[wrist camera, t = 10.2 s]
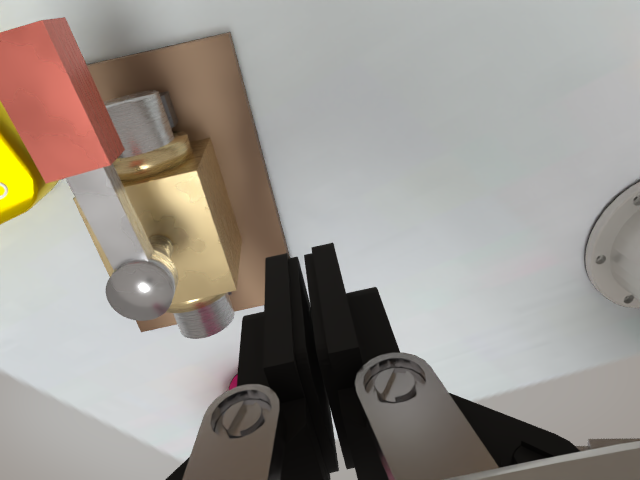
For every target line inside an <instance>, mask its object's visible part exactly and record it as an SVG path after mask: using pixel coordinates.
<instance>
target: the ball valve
mask: <svg viewBox="0 0 640 480" xmlns="http://www.w3.org/2000/svg"><path fill="white" fill-rule="evenodd" d="M104 105H105V107H106V109H107V111H108V113H109V116H110V118H111V120H112V122H113V124H114V127H115V129H116V131H117V133H118V135H119V138H120V140H121V142H122V144H123V146H124V149H125V150H124V151H123V152H122V154H121V155H120V156H119V157H118V158H117V159H116V160H115V161H114V162H113V165H114V167H115V169H116V171H117V174H118V176H119V178H120V180H121V182H122V184H123V186H124V188H125V191H126V193H127V195H128V197H129V199H130V201H131V203H132V205H133V208H134V210H135V212H136V214H137V216H138V218H139V220H140V222H141V224H142V227H143V229H144V231H145V233H146V235H147V237H148V239H149V241H150V244H151V246H152V248H153V250H155V251H158V252H160V253H162V254H164V255H165V256H167V257H168V258H169V259H170V260H171V261H172V262H173V263H174V265H175V266H176V269H177V271H178V284H177V287H176V290H175V293H174V297H173V300H172V303H171V305H170V307H169V309H168V310H167V311H166V312H168V313H173V315H174V317H175V319H176V322H177V324H178V327H179V329H180V332H181V333H182V335H183V336H185V337H187V338H192V339H199V338H205V337H208V336H211V335H214V334H216V333H218V332H220V331H221V330H223V329H224V328H226V327H227V326H228V325H229V324H230V323H231V321H232V320H233V318H234V309H233V306H232V304H231V301H230V298H229V295H232V291H236V290H237V281H238V272H239V264H240V255H241V246H242V238H241V235H240V232H239V229H238V225H237V222H236V219H235V216H234V213H233V209H232V206H231V203H230V200H229V196H228V193H227V190H226V187H225V184H224V180H223V177H222V174H221V171H220V167H219V164H218V161H217V158H216V155H215V151H214V148H213V145H212V142H211V138H206V139H202V140H197V141H193V142H190V141H189V138H188V135H187V133H186V132H183V131H172V129H171V128H172V127H175V126H176V124H177V123H178V118H177V115H176V112H175V109H174V107H173V104H172V101H171V98H170V95H169V92H168V91H167V92H162V93H159V92H158V91H157V90H152V91H144V92H139V93H134V94H130V95H126V96H122V97H118V98H115V99H111V100H108V101H105V102H104ZM73 199H74V201H75V203H76V206H77V208H78V210H79V212H80V214H81V216H82V218H83V221H84V223H85V225H86V227H87V229H88V231H89V233H90V236H91V238H92V240H93V242H94V244H95V246H96V248H97V251H98V253H99V255H100V257H101V259H102V261H103V263H104V266H105V268H106V270H107V272H108V274H109V276H110V277H111V275H112V273H113V271H114V270H113V268H112V266H111V264H110V262H109V260H108V258H107V257H106V255H105V253H104V251H103V249H102V247H101V245H100V243H99V241H98V239H97V237H96V236H95V234H94V232H93V230H92V228H91V226H90V224H89V222H88V220H87V218H86V217H85V215H84V213H83V211H82V209H81V207H80V205H79V203H78V201H77V199H76V198H75V197H74V198H73Z"/></svg>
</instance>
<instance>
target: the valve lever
mask: <svg viewBox="0 0 640 480" xmlns="http://www.w3.org/2000/svg"><path fill="white" fill-rule="evenodd" d="M0 101H1V103H2V104H3V106H4V108H5V110H6V112H7V114H8V115H9V117H10V119H11V121H12V123H13V124H14V126H15V128H16V130H17V132H18V134H19V135H20V137H21V139H22V141H23V143H24V145H25V146H26V148H27V150H28V152H29V154H30V155H31V157H32V159H33V161H34V163H35V165H36V166H37V168H38V170H39V172H40V174H41V176H42V177H43V179H44V181H45V183H50V182H53V181H57V180H60V179H64V178H65V179H66V180H67V182H68V184H69V186H70V188H71V190H72V192H73V194H74V196H75V198H76V199H77V201H78V203H79V205H80V207H81V209H82V211H83V213H84V215H85V217H86V218H87V220H88V222H89V224H90V226H91V228H92V230H93V232H94V234H95V236H96V237H97V239H98V241H99V243H100V245H101V247H102V249H103V251H104V253H105V255H106V257H107V258H108V260H109V262H110V264H111V266H112V268H113V270H114V271H113V273H112V275H111V277H110V278H109V280H108V282H107V285H106V296H107V300H108V302H109V303H110V305H111V306H112V308H113V309H114V310H115V311H116V312H118V313H119V314H121V315H122V316H124V317H126V318H129V319H133V320H138V321H146V320H152V319H155V318H158V317H160V316H161V315H163V314H164V313H165V312H166V311H167V310H168V309H169V307H170V305H171V303H172V300H173V297H174V293H175V290H176V287H177V284H178V271H177V269H176V266H175V265H174V263H173V262H172V261H171V260H170V259H169V258H168V257H167V256H165V255H164V254H162V253H160V252H158V251H155V250H153V248H152V246H151V244H150V241H149V239H148V237H147V235H146V233H145V231H144V229H143V227H142V224H141V222H140V220H139V218H138V216H137V214H136V212H135V210H134V208H133V205H132V203H131V201H130V199H129V197H128V195H127V193H126V191H125V188H124V186H123V184H122V182H121V180H120V178H119V176H118V174H117V171H116V169H115V167H114V165H113V162H114V161H115V160H116V159H117V158H118V157H119V156H120V155H121V154H122V152H123V151H124V150H125V149H124V146H123V144H122V142H121V140H120V138H119V135H118V133H117V131H116V129H115V127H114V124H113V122H112V120H111V118H110V116H109V113H108V111H107V109H106V107H105V105H104V102H103V100H102V98H101V96H100V94H99V91H98V89H97V87H96V85H95V82H94V80H93V78H92V76H91V74H90V71H89V69H88V67H87V65H86V63H85V60H84V58H83V56H82V54H81V52H80V49H79V47H78V45H77V43H76V41H75V38H74V36H73V34H72V32H71V30H70V27H69V25H68V23H67V21H66V19H65V17H64V18H57V19H49V20H42V21H38V22H35V23H31V24H28V25H25V26H21V27H18V28H14V29H11V30H8V31H4V32H1V33H0Z"/></svg>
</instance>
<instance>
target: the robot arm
mask: <svg viewBox="0 0 640 480" xmlns="http://www.w3.org/2000/svg"><path fill="white" fill-rule="evenodd" d="M304 258H305V266H306V274H307V282H308V290H309V297H310V302H309V298H308V295H307V291H306V287H305V283H304V279H303V275H302V271H301V267H300V263H299V260H298V257H294V258H289V255H288V253H285V254H280V255H276V256H271V257H267V258H266V259H265V304H264V312H260V313H256V314H251V315H247V316H244V317H243V320H242V330H241V342H240V353H239V365H238V376H237V387H235V388H233V389H231V390H229V391H226V392H225V393H223V394H222V395H221V396H219V397H218V398H216V399H215V401H214V402H213V403H212V404H211V405H210V406H209V407H208V409H207V411H206V413H205V415H204V417H203V420H202V423H201V426H200V429H199V432H198V435H197V438H196V441H195V444H194V447H193V450H192V452H191V455H190V457H189V458H188V459H187V460H186V461H185V462H184V463H183V464H182V465H181V466H180V467H178V468H177V469H176V470H175V471H174V472H173V473H172V474H171V475H170V476H169V477H168V478H167V479H166V480H330V473H332V472H336V471H339V468H338V461H337V453H336V447H335V439H334V432H333V425H332V418H331V412H332V416H333V419H334V423H335V427H336V431H337V435H338V438H339V442H340V446H341V450H342V453H343V457H344V461H345V465H346V468H347V469H350V468H355V470H356V473H357V478H358V480H640V439H639V438H637V439H588V446H574V445H573V444H572V443H571V442H570V441H568V440H566V439H564V438H562V437H560V436H558V435H556V434H554V433H551V432H549V431H546V430H543V429H541V428H538V427H536V426H533V425H531V424H528V423H526V422H523V421H520V420H518V419H515V418H513V417H510V416H507V415H505V414H502V413H500V412H497V411H494V410H492V409H489V408H487V407H484V406H482V405H479V404H477V403H474V402H471V401H469V400H466V399H464V398H461V397H459V396H456V395H453V394H451V393H448V391H447V390H446V388H445V387H444V385H443V384H442V382H441V381H440V380H439V378H438V377H437V375H436V374H435V372H434V371H433V369H432V368H431V367H430V365H429V364H428V363H427V362H426V361H425V360H423V359H421V358H419V357H417V356H415V355H412V354H407V353H400V351H399V348H398V345H397V343H396V340H395V337H394V334H393V331H392V329H391V326H390V323H389V320H388V317H387V315H386V312H385V309H384V306H383V303H382V301H381V298H380V295H379V292H378V290H377V288H376V287H373V288H369V289H364V290H360V291H355V292H350V293H346V292H345V288H344V284H343V280H342V276H341V272H340V268H339V264H338V260H337V256H336V252H335V248H334V244H333V243H330V244H325V245H321V246H316V247H312V254H307V255H304ZM585 262H586V270H587V273H588V276H589V279H590V281H591V282H592V284H593V285H594V286H595V288H596V289H597V290H598V291H599V292H600V293H601V294H602V295H603V296H605V297H606V298H607V299H609V300H610V301H612V302H614V303H615V304H618V305H621V306H624V307H631V308H640V182H638V183H637V184H635V185H633V186H631V187H630V188H629V189H627V190H626V191H625V192H623V193H622V194H621V195H620V196H618V197H617V198H616V199H615V200H614V201H613V202H612V203H611V204H610V205H609V206H608V207H607V208H606V210H605V211H604V212H603V214H602V215H601V217H600V218H599V219H598V221H597V222H596V224H595V226H594V228H593V230H592V232H591V234H590V237H589V241H588V244H587V247H586V257H585ZM310 305H311V306H310ZM330 408H331V411H330Z"/></svg>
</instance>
